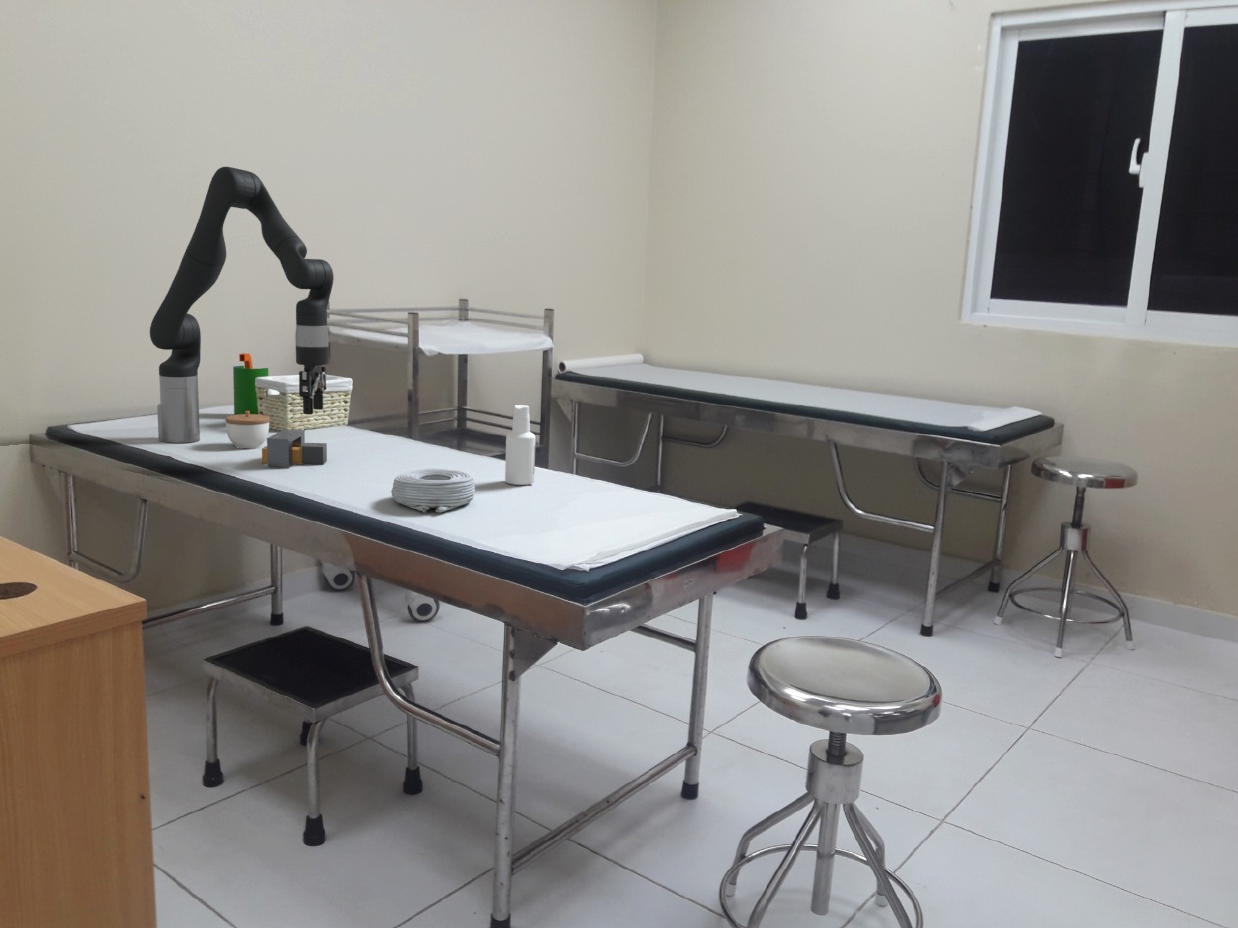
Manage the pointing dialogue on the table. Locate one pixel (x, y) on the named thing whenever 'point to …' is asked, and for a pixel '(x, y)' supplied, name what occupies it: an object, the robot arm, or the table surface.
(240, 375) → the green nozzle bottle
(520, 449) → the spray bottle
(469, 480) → the cable
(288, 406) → the storage basket
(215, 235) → the robot arm
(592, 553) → the table surface
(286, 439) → the housing
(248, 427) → the lidded jar
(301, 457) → the plug
